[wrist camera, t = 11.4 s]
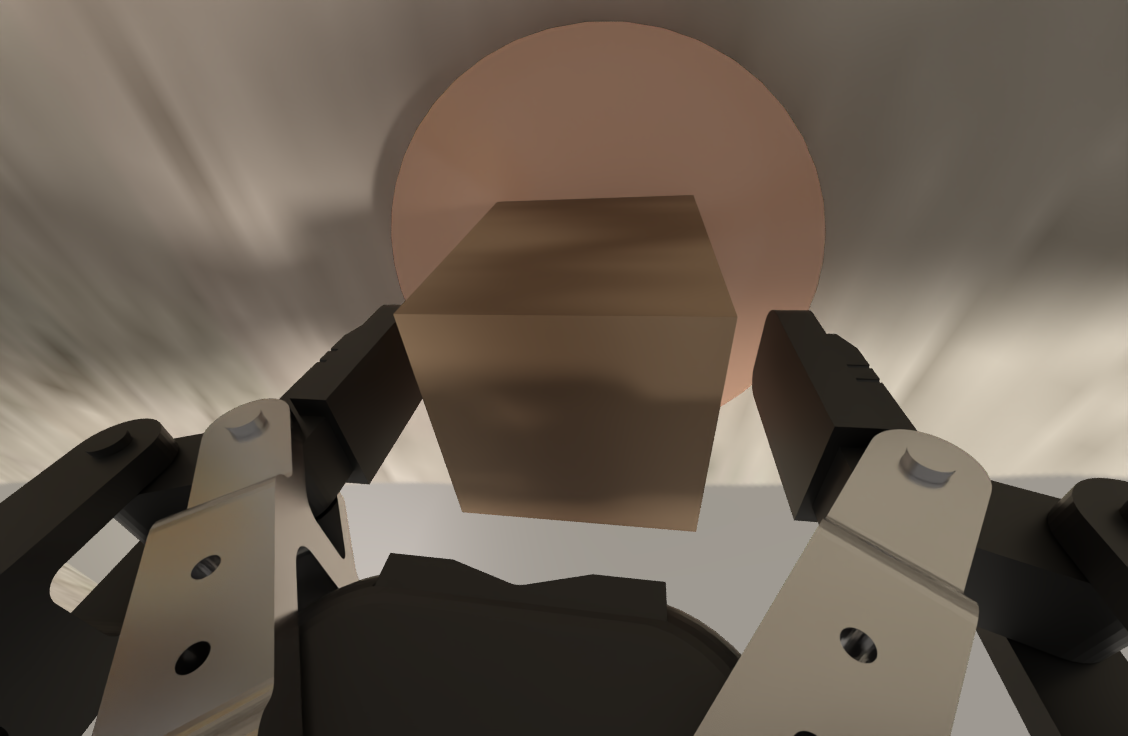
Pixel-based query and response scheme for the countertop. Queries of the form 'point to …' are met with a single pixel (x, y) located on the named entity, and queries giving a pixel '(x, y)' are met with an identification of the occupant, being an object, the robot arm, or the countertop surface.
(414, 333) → the walnut block
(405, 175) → the dish
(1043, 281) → the countertop surface
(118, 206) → the countertop surface
